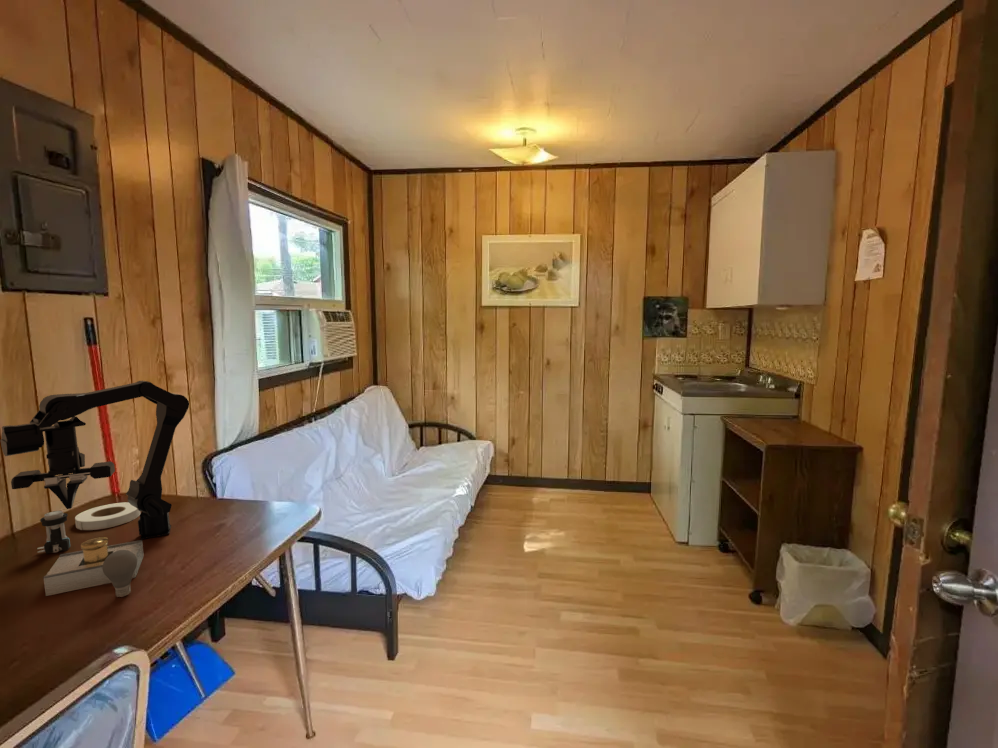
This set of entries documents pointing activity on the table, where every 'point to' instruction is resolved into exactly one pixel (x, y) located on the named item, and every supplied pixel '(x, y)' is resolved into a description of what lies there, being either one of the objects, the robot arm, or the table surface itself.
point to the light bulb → (120, 570)
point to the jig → (84, 570)
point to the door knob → (95, 550)
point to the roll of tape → (106, 516)
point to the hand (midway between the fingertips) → (69, 508)
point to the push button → (55, 532)
